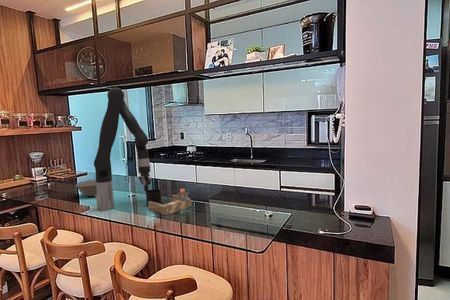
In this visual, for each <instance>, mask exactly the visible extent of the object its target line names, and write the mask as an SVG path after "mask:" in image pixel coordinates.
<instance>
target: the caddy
mask: <svg viewBox="0 0 450 300" xmlns="http://www.w3.org/2000/svg"><path fill="white" fill-rule="evenodd" d="M147 207H148V208H147V209H148V211H150V210H151V212H153V213H158V214H161V215H164V216H167V215H170V214H174V213H176V212H179V211H182V210H186V209H188V207H189V208H191V207H192V199H191V198H190V197H189V193H188V192H185V194H180V192H179V193H177V194H171V202H168V203H165V204H163V203H162V204H159V203H155V202H151V201H149V202H148V206H147Z"/></svg>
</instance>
